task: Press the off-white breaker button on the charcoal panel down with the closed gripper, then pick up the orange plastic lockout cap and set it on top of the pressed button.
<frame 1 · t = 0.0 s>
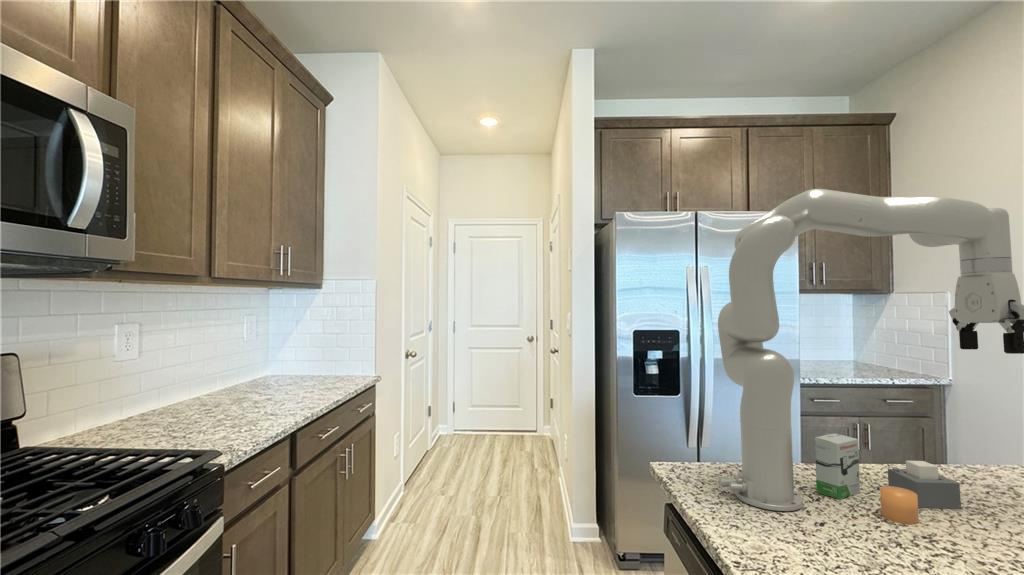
hand: (990, 351, 94), 31 cm above the table, fingers open, 9 cm apart
lockout cap: (899, 518, 87), on the table
breaker button: (921, 474, 96), point 5 cm above the table, slide at 0.0 cm
ink box: (838, 493, 100), on the table
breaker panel: (923, 500, 95), on the table
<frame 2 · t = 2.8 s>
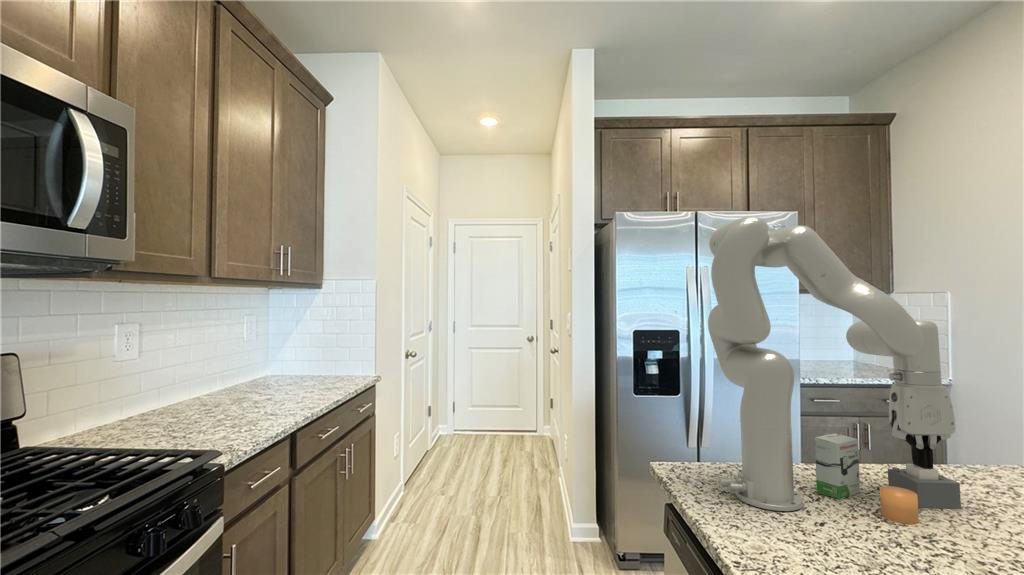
hand: (923, 466, 96), 7 cm above the table, fingers closed
breaker button: (922, 477, 95), point 5 cm above the table, slide at 0.6 cm, touching gripper
everything else where it was.
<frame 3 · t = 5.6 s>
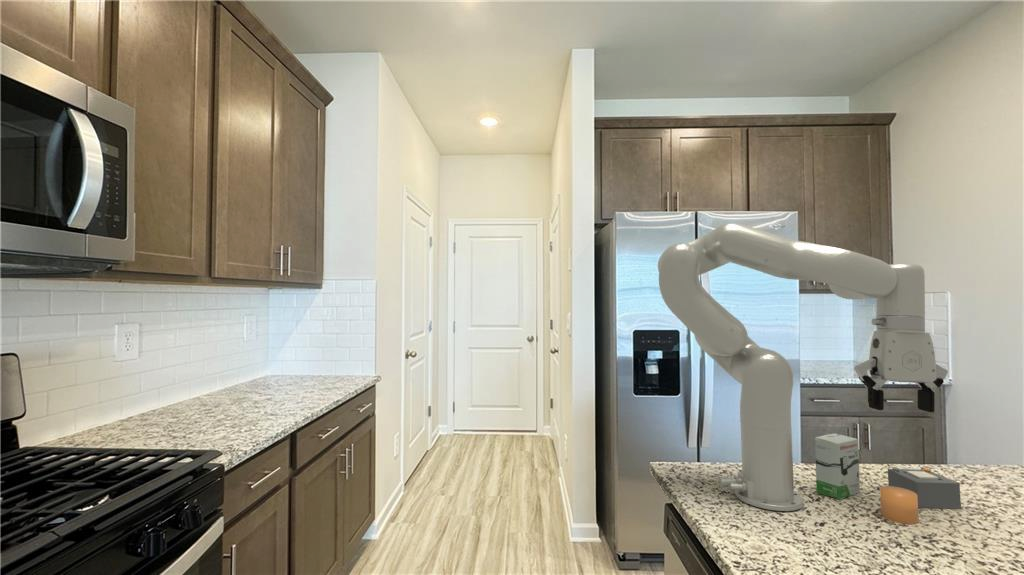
hand: (900, 409, 92), 20 cm above the table, fingers open, 9 cm apart
breaker button: (922, 485, 95), point 3 cm above the table, slide at 2.2 cm
everything else where it was.
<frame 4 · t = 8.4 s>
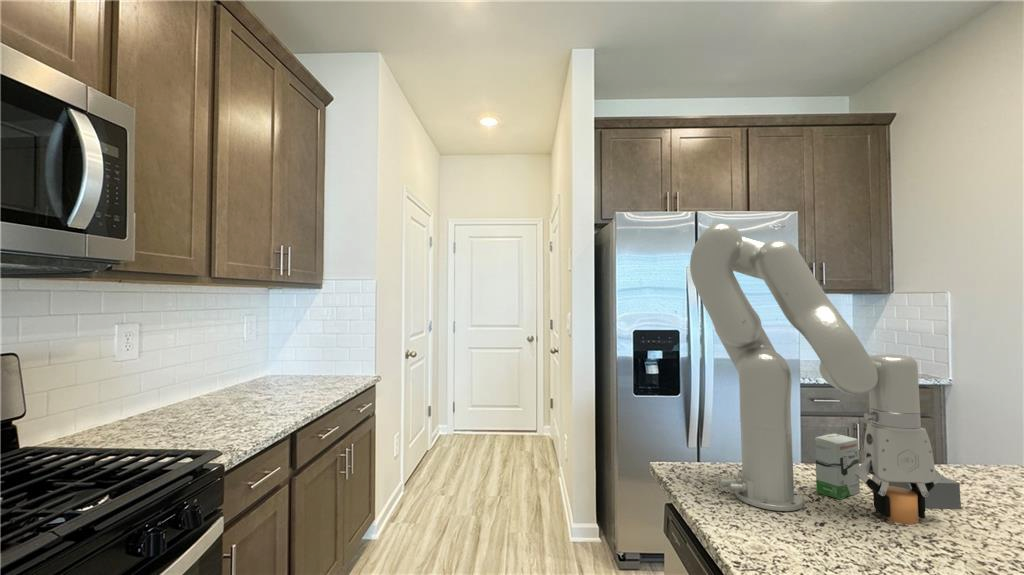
hand: (899, 513, 87), 1 cm above the table, fingers closed on lockout cap, 5 cm apart
lockout cap: (899, 517, 87), on the table, touching gripper
everything else where it was.
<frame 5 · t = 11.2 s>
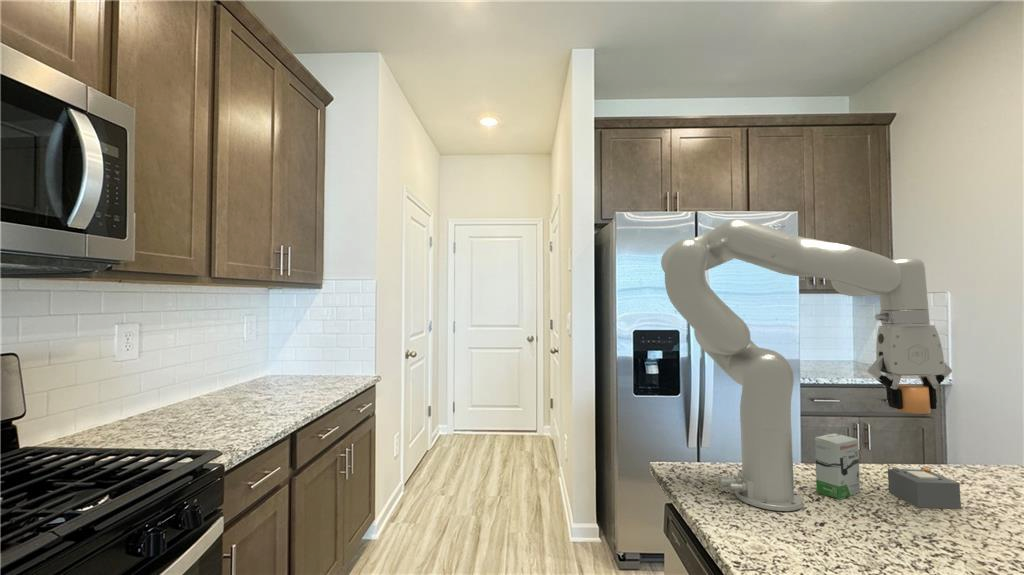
hand: (912, 406, 93), 20 cm above the table, fingers closed on lockout cap, 5 cm apart
lockout cap: (912, 410, 93), point 19 cm above the table, touching gripper
everything else where it was.
when the fingers open (7 cm above the table, at t = 14.4 s): lockout cap stays where it is, resting on breaker button.
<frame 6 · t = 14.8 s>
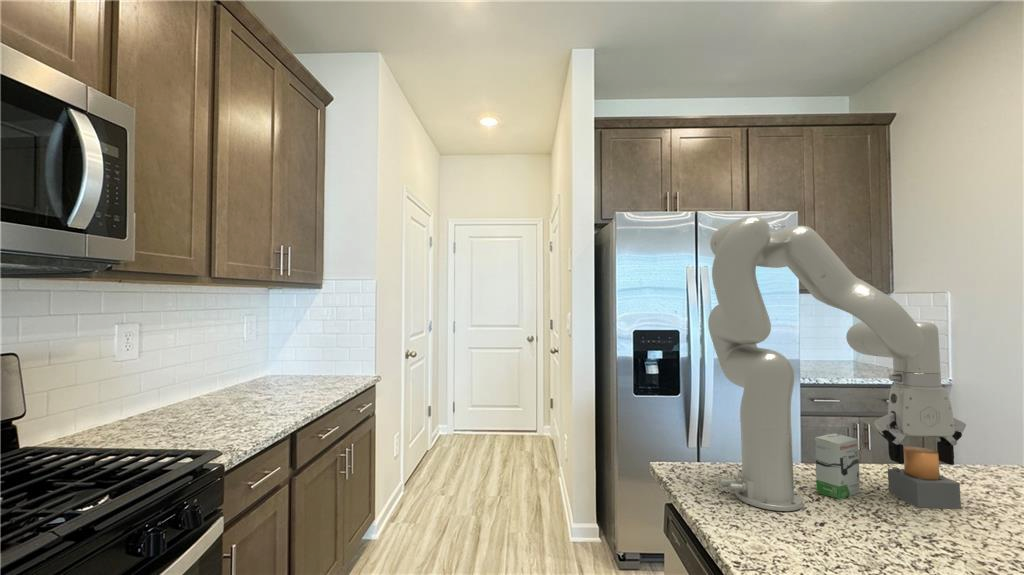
hand: (921, 462, 96), 8 cm above the table, fingers open, 9 cm apart
lockout cap: (921, 474, 95), point 5 cm above the table, touching breaker button
breaker button: (922, 485, 95), point 3 cm above the table, slide at 2.3 cm, touching lockout cap
everything else where it was.
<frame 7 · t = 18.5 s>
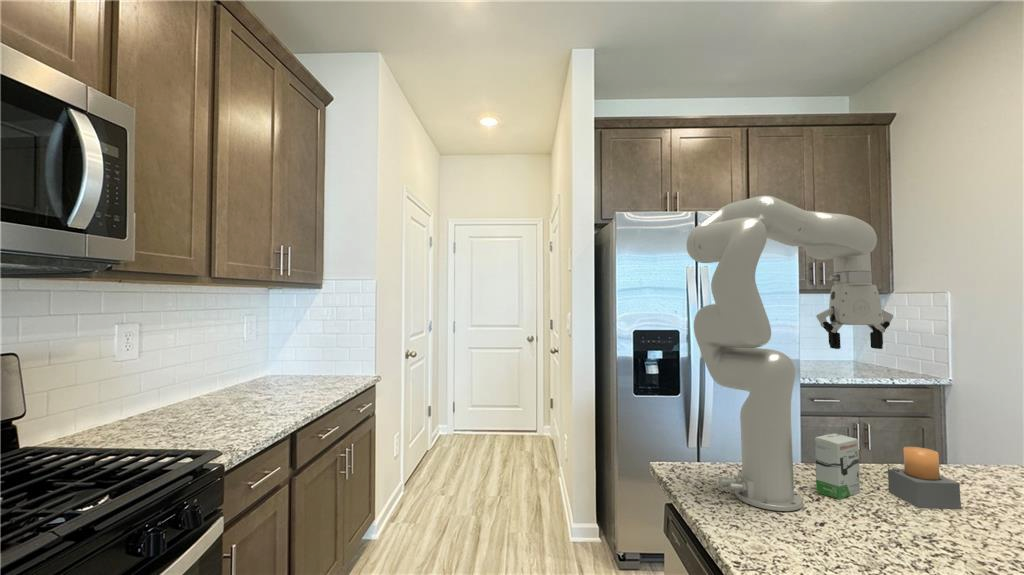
hand: (855, 348, 113), 30 cm above the table, fingers open, 9 cm apart
nothing on the table moved.
at the end: breaker button slide at 2.3 cm; lockout cap 0.1 cm from the breaker button (horizontally); lockout cap point 5.2 cm above the table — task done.
